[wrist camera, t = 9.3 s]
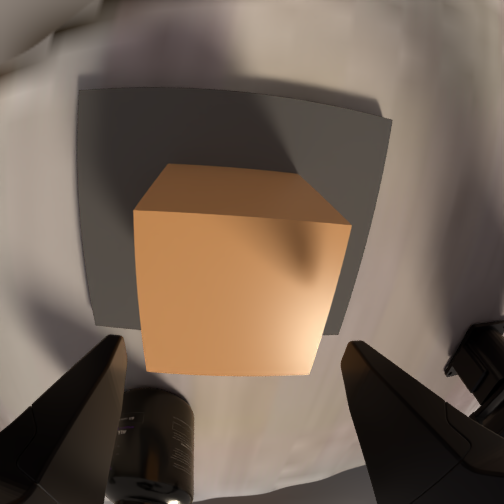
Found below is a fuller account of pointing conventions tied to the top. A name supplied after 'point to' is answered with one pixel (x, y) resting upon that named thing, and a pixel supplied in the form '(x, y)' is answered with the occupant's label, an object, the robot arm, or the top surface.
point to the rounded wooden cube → (235, 271)
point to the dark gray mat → (213, 154)
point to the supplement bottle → (153, 450)
